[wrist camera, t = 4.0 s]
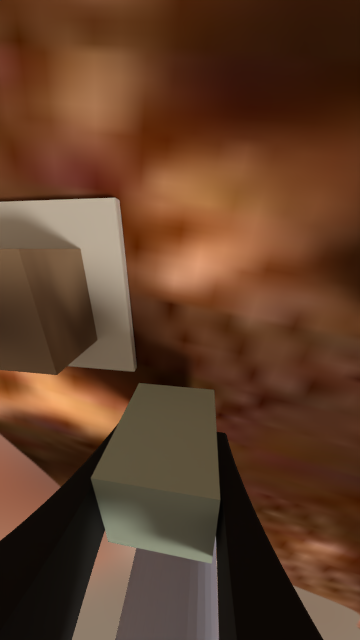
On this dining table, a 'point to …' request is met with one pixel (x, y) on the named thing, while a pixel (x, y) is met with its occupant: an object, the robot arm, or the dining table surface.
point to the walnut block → (43, 310)
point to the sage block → (162, 473)
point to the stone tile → (99, 264)
